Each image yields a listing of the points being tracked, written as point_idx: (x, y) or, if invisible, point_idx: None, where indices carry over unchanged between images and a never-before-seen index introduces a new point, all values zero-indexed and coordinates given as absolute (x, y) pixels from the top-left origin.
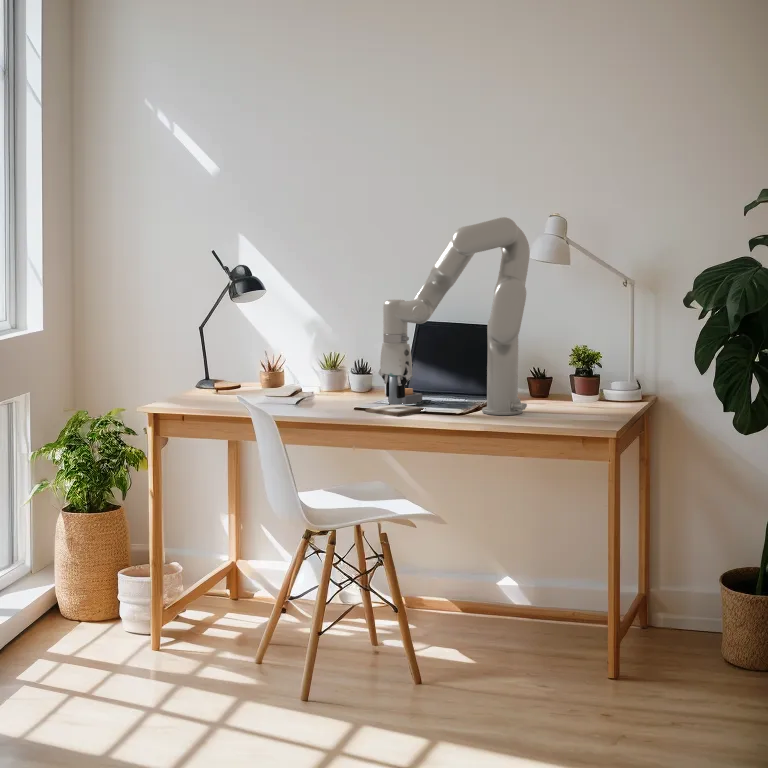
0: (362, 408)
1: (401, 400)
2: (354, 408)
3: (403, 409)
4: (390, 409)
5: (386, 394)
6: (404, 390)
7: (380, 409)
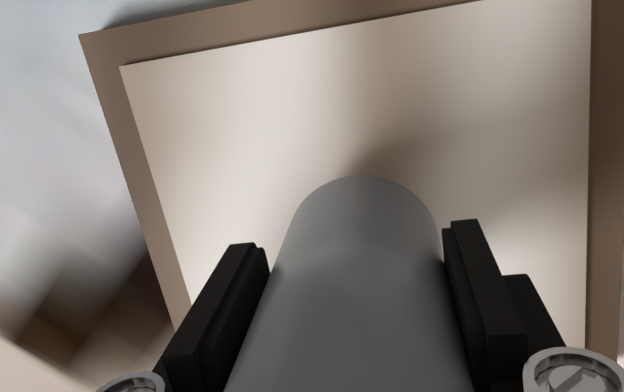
0: (44, 304)
1: (434, 231)
2: (17, 344)
3: (512, 232)
4: None
5: None
6: (546, 319)
7: None
